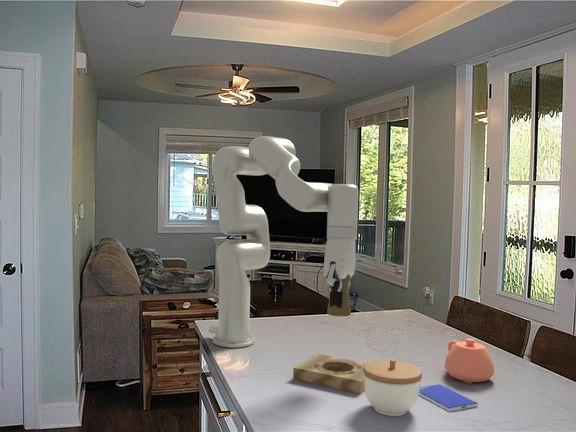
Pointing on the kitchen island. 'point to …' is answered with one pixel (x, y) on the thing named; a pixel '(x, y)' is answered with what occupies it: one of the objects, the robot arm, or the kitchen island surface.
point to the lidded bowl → (392, 386)
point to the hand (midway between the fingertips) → (339, 304)
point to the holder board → (332, 373)
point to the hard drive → (446, 397)
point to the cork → (345, 300)
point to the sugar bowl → (469, 361)
